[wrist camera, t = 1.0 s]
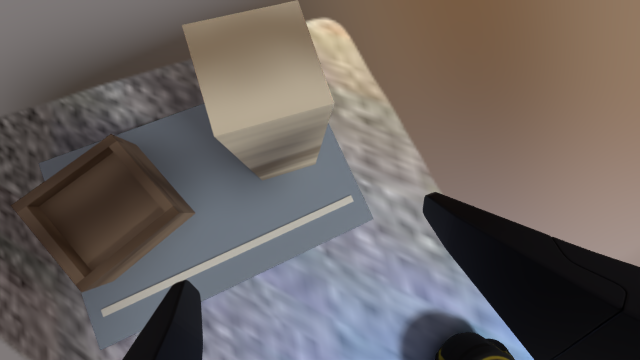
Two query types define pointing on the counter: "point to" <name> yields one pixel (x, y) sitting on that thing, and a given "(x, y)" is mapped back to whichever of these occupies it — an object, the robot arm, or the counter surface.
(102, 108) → the counter surface
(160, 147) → the board
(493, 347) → the tape measure
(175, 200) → the walnut block
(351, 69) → the counter surface
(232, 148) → the beech column
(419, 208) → the counter surface
